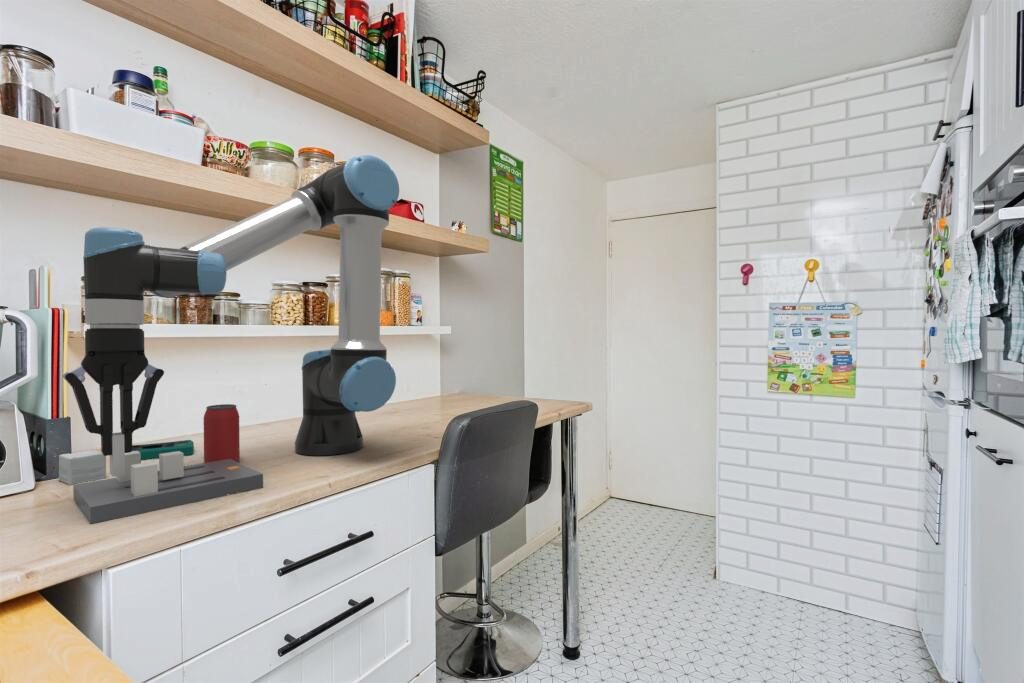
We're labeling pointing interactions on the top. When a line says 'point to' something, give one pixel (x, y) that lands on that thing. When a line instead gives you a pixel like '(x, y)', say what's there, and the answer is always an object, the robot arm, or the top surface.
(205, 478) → the breaker panel
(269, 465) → the top surface
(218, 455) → the beer can
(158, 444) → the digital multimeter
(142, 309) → the robot arm
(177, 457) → the handle
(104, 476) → the small box
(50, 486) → the top surface
